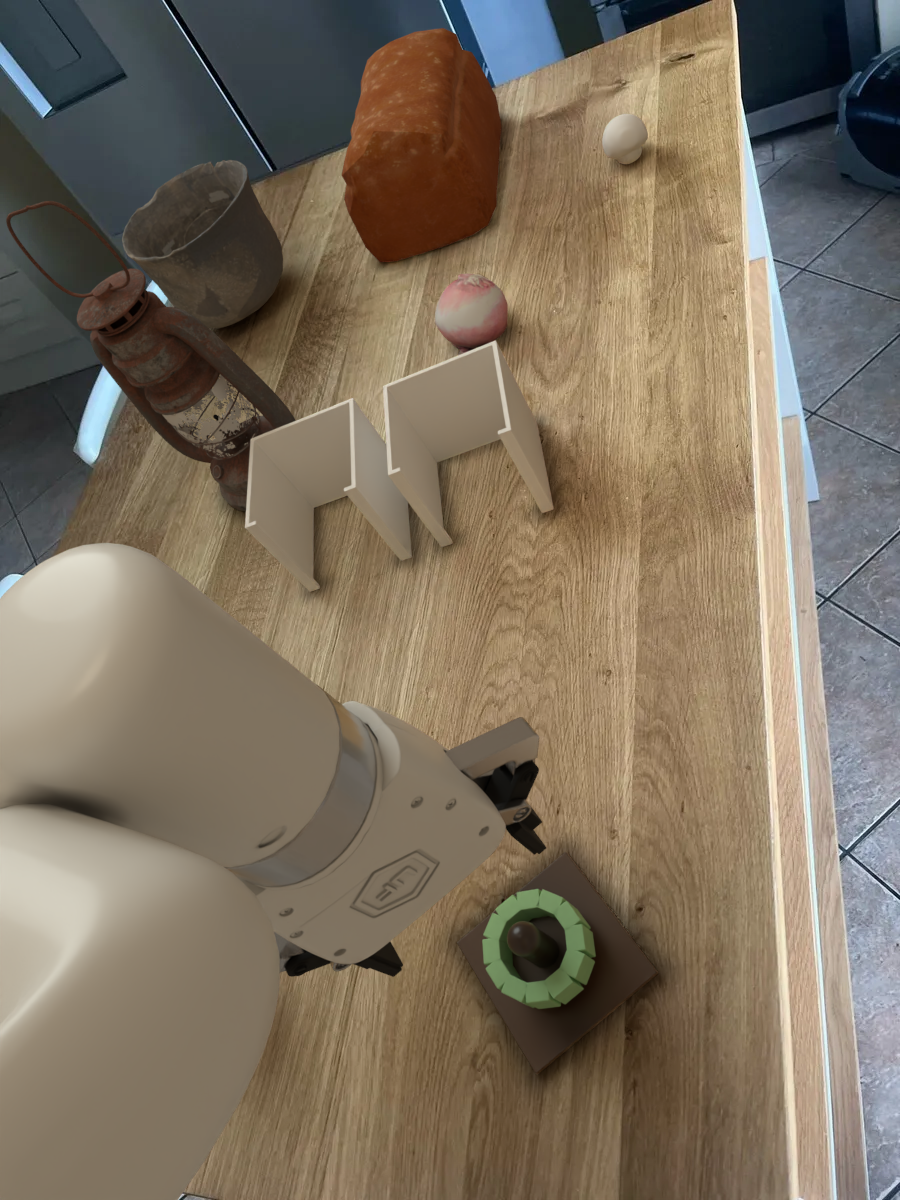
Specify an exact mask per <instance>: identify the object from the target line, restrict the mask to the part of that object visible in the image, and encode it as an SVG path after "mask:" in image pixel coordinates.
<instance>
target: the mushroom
mask: <svg viewBox="0 0 900 1200" xmlns="http://www.w3.org/2000/svg"><path fill="white" fill-rule="evenodd" d="M648 138H649V133H648V128H647V126H646V124H645V122H644V121H643V120H642V118H640V116H639V117H638V116H637V115H635V114H632V113H621V114H619V115H616V116H614V117H613V118H612V119H611V120H610V121H608V123H607V124H606V126H605V127H604V130H603V134H602V140H601V144H602V145H601V146H602V149H603V153H604V154H605V156H606V157H607V158H608V159H611V160H616V161H617V162H618V163H619V164H621V165H629V164H632V163H634V162H636V161H638V159H639V158H640V157H641V155H642V152H643V146H644V145H645V144H646V142H647V141H648Z"/></svg>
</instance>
